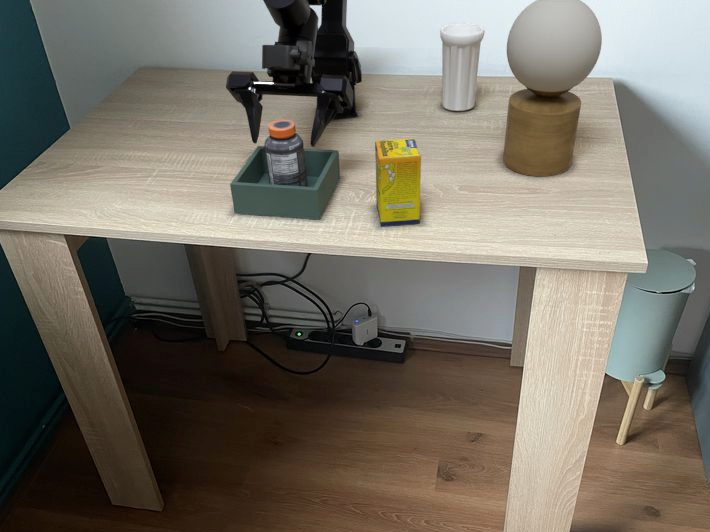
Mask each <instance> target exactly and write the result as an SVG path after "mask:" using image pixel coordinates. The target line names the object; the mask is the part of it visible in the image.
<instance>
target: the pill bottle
mask: <svg viewBox="0 0 710 532" xmlns="http://www.w3.org/2000/svg"><path fill="white" fill-rule="evenodd" d="M267 128H268V135H269V136H267V137H266V139H265V140H264V144H263V146H264V147H265V155H266V162H267V170H268V176H269V184H272V185H288V186H303V187H307V178H306V168H305V157H304V148H305V147H304V140H303V138H302V137H301V135H299V133H296V132H297V129H296V124H295V121H293V120H291V119H276V120H274V121H271V122H270V123H269V124H268V127H267Z"/></svg>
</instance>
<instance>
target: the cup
mask: <svg viewBox="0 0 710 532" xmlns="http://www.w3.org/2000/svg"><path fill="white" fill-rule="evenodd" d="M485 31H486V30H485V29H484V27H483V26H481V25H479V24H476V23H470V22H469V23H468V22H456V23H450V24H447V25H444V26H442V27H441V28H440V30H439V35H440V36H439V37H440V39H441V49H442V51H441V52H442V54H441V55H442V56H441V60H442V62H441V63H442V66H441V67H442V68H441V69H442V72H441V73H442V74H441V77H442V80H441V81H442V88H441V89H442V102H441V103H442V104H441V105H442V107H443V108H444V109H446V110H449V111H454V112H455V111H456V112H461V111H467V110H468V111H469V110H471V109H472V108H474V107H475V105H476V104H475V102H476V92H477V83H478V82H477V81H478V80H477V79H478V72H479V63H480V52H481V44H482V41H483V40H484V36H485Z"/></svg>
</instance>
